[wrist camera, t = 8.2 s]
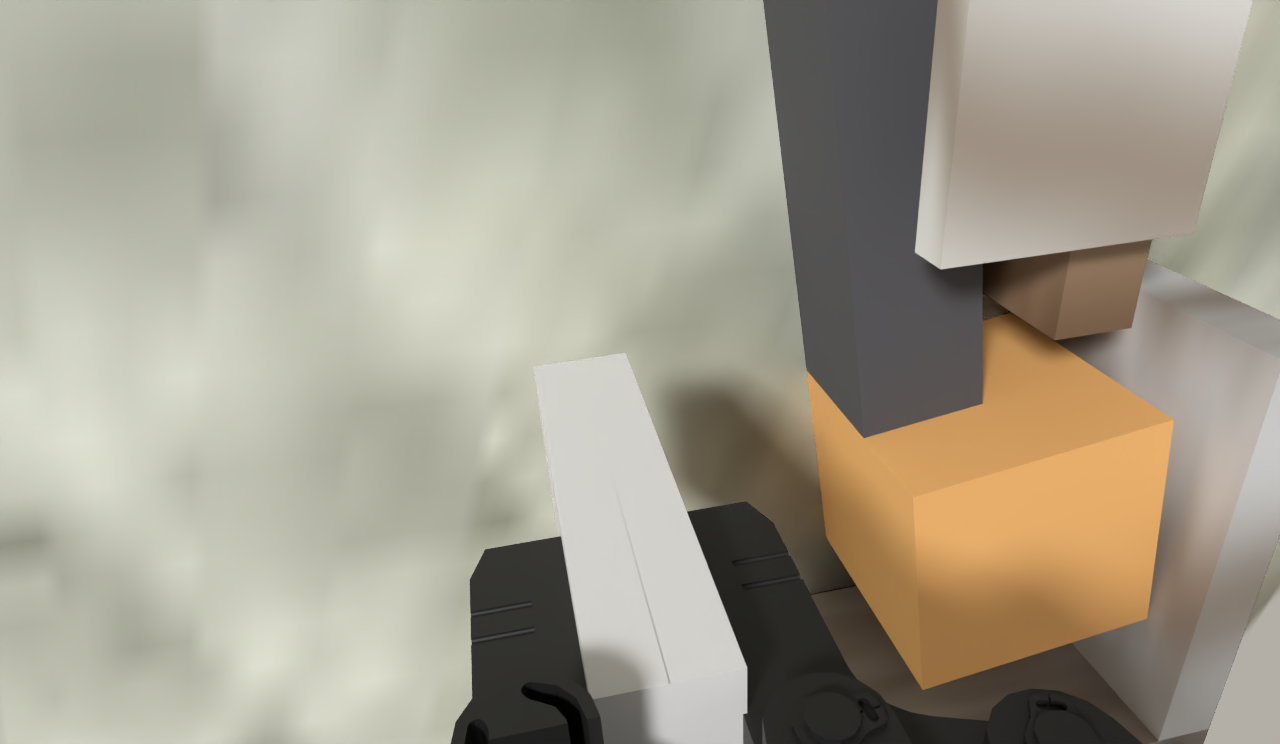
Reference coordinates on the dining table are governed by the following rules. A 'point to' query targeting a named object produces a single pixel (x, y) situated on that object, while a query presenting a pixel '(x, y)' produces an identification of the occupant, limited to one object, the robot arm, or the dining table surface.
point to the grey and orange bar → (943, 381)
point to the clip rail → (1106, 321)
